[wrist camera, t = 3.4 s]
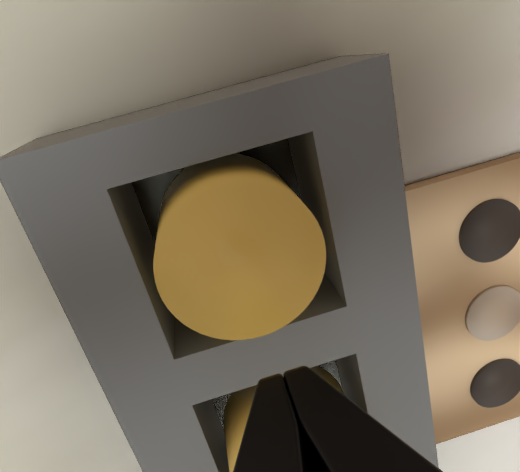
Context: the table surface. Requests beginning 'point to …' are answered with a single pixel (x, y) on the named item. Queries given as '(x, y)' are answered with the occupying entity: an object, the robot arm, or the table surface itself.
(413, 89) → the table surface
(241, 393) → the button
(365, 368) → the board
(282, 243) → the button
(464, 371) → the card
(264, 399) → the robot arm
